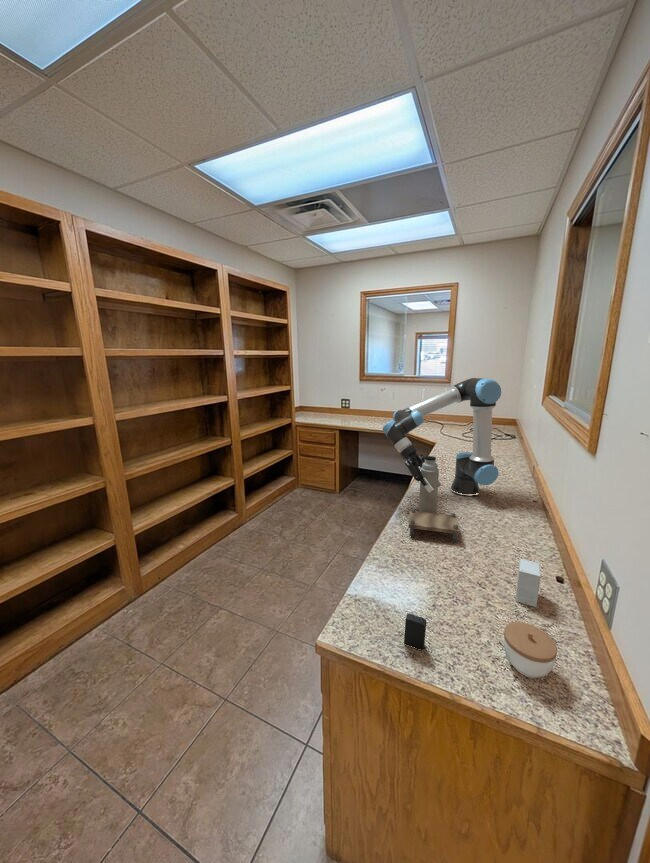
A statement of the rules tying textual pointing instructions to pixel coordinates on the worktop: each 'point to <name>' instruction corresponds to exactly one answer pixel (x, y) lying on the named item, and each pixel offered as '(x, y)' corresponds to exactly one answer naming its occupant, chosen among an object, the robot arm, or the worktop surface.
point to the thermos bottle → (431, 474)
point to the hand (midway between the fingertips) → (435, 488)
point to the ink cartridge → (415, 631)
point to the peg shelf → (434, 523)
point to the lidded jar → (529, 649)
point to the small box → (528, 582)
